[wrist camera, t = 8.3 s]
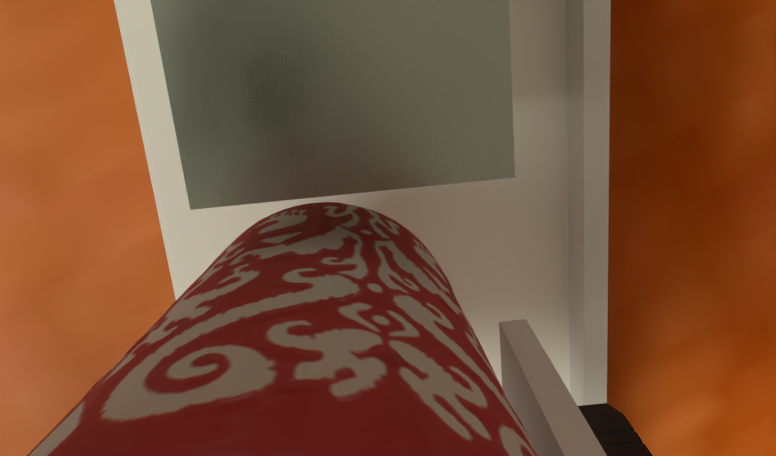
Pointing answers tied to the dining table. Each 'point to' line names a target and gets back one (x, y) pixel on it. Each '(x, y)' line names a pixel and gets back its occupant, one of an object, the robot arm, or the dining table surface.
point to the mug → (304, 356)
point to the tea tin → (335, 95)
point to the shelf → (460, 192)
